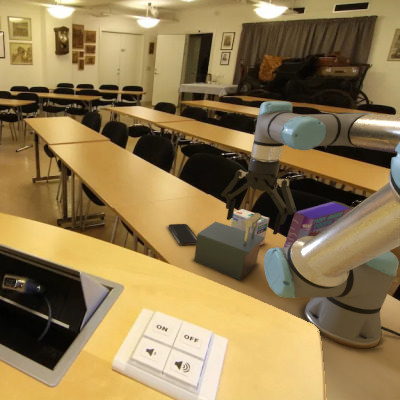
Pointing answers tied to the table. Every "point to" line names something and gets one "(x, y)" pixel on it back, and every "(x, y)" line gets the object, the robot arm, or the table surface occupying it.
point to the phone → (183, 234)
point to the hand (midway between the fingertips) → (251, 225)
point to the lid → (234, 235)
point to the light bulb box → (261, 227)
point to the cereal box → (315, 220)
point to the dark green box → (225, 258)
